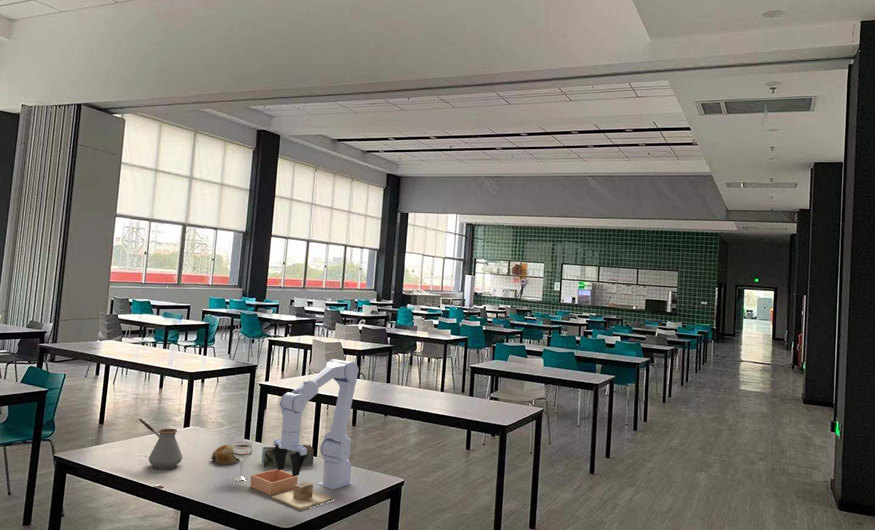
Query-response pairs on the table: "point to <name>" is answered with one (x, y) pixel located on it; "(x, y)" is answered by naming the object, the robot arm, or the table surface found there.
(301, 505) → the lid
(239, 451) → the wineglass
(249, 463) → the table surface
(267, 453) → the beverage carton
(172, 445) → the coffee pot
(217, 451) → the bread roll
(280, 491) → the orange open box
